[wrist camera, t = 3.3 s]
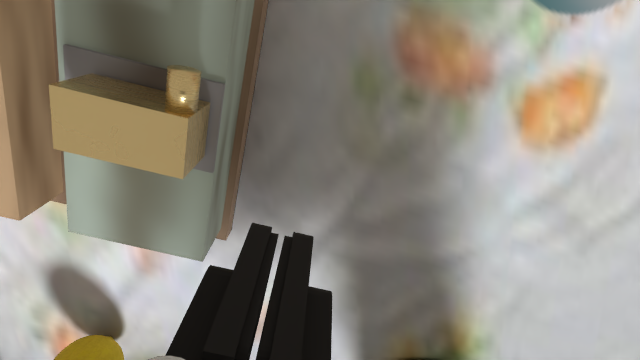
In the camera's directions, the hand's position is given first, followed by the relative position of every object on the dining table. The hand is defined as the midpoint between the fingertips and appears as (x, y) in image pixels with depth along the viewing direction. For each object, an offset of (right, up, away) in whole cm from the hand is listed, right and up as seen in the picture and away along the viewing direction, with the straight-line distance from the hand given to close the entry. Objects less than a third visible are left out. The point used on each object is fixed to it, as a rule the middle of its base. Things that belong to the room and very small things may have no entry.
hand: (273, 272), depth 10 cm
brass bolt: (-7, +7, +9) cm, 13 cm away
